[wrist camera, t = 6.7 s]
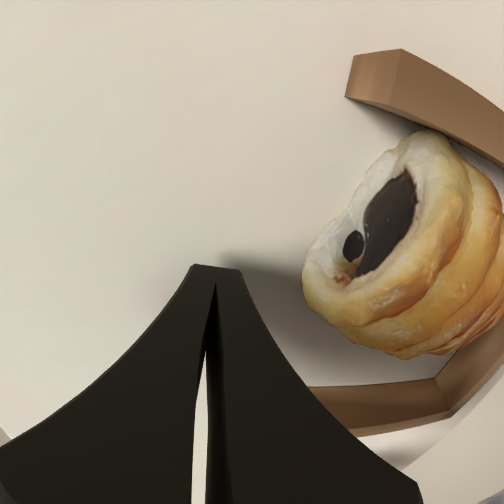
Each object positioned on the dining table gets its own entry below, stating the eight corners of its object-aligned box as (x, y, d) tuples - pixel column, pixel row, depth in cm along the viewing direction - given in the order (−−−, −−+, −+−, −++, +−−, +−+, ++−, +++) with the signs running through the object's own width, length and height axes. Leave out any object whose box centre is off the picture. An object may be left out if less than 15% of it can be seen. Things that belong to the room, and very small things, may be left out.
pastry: (511, 249, 10) (559, 299, 7) (421, 346, 13) (450, 407, 10) (401, 104, 7) (493, 134, 4) (271, 274, 10) (286, 369, 7)
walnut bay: (436, 387, 15) (450, 417, 13) (250, 398, 13) (253, 443, 11) (558, 181, 8) (593, 204, 6) (353, 55, 6) (401, 48, 4)
